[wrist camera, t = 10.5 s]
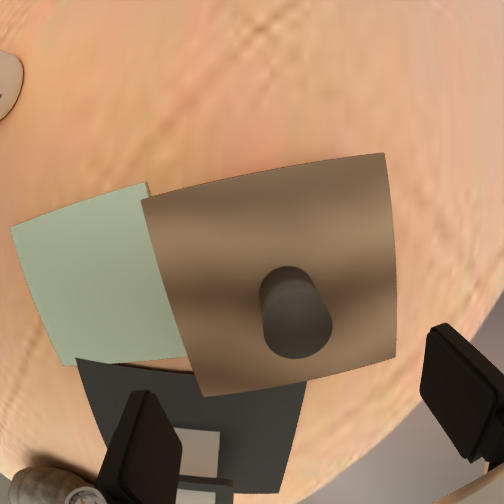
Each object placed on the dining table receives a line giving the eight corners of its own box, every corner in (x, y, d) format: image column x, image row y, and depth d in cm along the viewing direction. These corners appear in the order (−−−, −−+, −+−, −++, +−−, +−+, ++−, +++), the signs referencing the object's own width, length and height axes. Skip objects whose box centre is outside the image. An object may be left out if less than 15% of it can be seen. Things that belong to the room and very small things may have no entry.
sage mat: (13, 226, 24) (9, 227, 24) (147, 181, 24) (144, 181, 23) (65, 362, 29) (63, 365, 28) (195, 351, 28) (194, 355, 28)
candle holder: (278, 493, 36) (286, 582, 20) (121, 478, 35) (97, 560, 19) (307, 378, 29) (344, 524, 13) (74, 357, 28) (1, 469, 12)
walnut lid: (144, 198, 17) (106, 212, 12) (378, 153, 17) (424, 151, 12) (204, 390, 21) (196, 443, 16) (391, 351, 20) (421, 395, 15)
